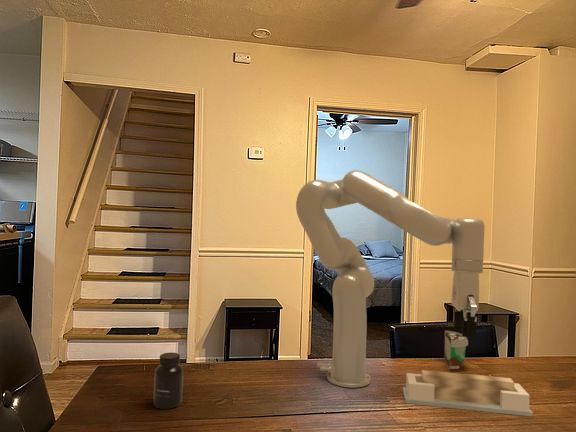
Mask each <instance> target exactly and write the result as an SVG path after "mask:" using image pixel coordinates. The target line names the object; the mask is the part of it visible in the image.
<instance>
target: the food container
mask: <svg viewBox="0 0 576 432" xmlns="http://www.w3.org/2000/svg"><path fill="white" fill-rule="evenodd" d="M467 346H469V339H468V337H463V336H462V332H461V333H460V332H456V331H451V330H444V363H445V364H446V367H447V369H448V370H449V372H460V370H461V371H463V370H464V367H465V357H466V356H465V355H466V350H467V349H466V348H467ZM462 369H463V370H462Z"/></svg>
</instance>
